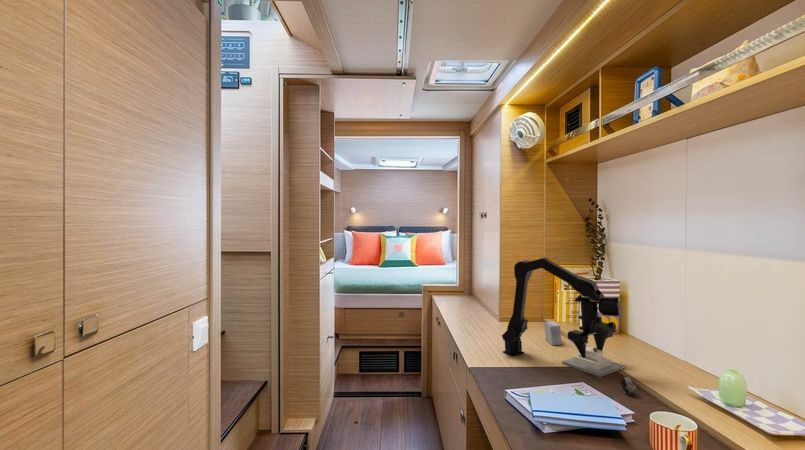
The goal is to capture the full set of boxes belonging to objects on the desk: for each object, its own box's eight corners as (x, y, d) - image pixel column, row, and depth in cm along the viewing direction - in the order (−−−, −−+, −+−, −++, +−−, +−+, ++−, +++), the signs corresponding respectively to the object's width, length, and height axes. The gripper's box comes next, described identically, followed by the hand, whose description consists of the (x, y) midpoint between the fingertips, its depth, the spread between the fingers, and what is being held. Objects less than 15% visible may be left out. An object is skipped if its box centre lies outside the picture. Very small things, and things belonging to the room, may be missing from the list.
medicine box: (561, 345, 169) (560, 325, 169) (551, 345, 169) (550, 326, 170) (555, 339, 177) (554, 321, 177) (545, 340, 177) (544, 321, 177)
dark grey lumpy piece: (623, 397, 120) (630, 390, 117) (618, 382, 124) (624, 374, 120) (633, 398, 120) (640, 391, 116) (627, 382, 124) (634, 375, 120)
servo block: (601, 368, 138) (600, 351, 138) (577, 360, 147) (576, 345, 147) (608, 366, 140) (607, 349, 140) (584, 358, 149) (583, 343, 149)
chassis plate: (600, 377, 133) (599, 368, 133) (562, 363, 147) (561, 355, 147) (625, 368, 139) (624, 360, 140) (586, 356, 154) (586, 348, 154)
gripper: (592, 322, 132) (594, 367, 132) (625, 313, 141) (628, 356, 141) (565, 316, 142) (567, 358, 142) (598, 308, 151) (600, 348, 150)
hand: (592, 355), depth 143 cm, fingers open, 9 cm apart
